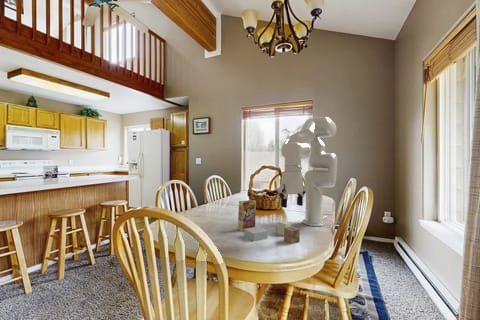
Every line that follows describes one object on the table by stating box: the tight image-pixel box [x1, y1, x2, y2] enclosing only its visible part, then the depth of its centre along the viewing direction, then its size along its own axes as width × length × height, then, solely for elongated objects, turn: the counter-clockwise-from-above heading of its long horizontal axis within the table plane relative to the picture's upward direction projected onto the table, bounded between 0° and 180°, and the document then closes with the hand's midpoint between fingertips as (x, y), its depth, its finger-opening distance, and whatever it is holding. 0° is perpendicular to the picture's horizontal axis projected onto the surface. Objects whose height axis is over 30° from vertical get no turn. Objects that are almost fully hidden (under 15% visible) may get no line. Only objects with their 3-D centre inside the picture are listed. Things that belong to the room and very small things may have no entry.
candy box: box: [237, 199, 257, 232], centre depth 124 cm, size 9×4×15 cm, turn 123°
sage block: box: [276, 219, 292, 236], centre depth 118 cm, size 5×5×6 cm
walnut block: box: [283, 226, 301, 245], centre depth 107 cm, size 5×5×6 cm
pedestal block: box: [243, 226, 268, 242], centre depth 112 cm, size 8×8×4 cm
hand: (291, 206), depth 107 cm, fingers open, 9 cm apart
